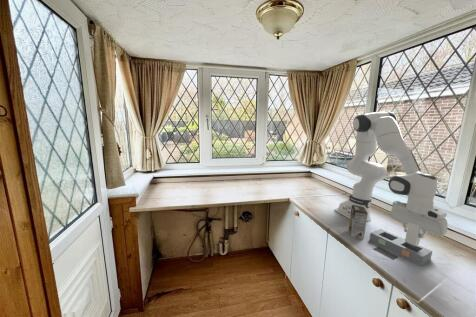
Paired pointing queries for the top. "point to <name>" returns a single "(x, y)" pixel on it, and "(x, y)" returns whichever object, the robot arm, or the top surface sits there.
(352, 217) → the coffee box
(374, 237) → the socket block
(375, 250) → the mat
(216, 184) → the top surface
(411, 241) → the plug
